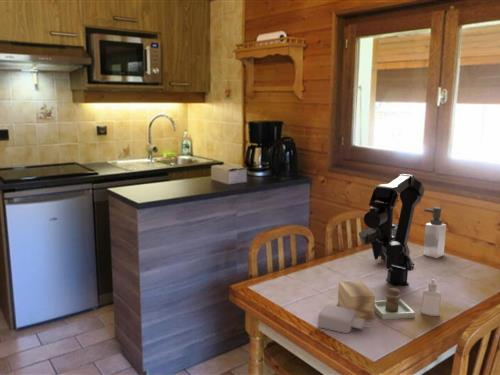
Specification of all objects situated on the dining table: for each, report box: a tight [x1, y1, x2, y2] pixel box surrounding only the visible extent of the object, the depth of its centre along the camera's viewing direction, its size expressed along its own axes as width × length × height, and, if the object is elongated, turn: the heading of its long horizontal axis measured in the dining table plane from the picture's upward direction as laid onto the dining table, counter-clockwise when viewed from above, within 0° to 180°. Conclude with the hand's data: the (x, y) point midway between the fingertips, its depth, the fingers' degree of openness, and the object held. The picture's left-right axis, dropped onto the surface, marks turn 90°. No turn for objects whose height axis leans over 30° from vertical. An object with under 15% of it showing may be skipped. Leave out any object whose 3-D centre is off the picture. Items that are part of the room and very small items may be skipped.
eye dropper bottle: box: [420, 278, 442, 317], centre depth 151 cm, size 4×6×12 cm
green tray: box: [374, 298, 416, 321], centre depth 153 cm, size 11×10×2 cm
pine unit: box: [337, 280, 376, 320], centre depth 153 cm, size 8×12×8 cm, turn 8°
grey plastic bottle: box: [317, 303, 372, 334], centre depth 143 cm, size 5×9×15 cm
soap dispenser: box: [422, 206, 447, 259], centre depth 208 cm, size 6×9×22 cm
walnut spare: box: [385, 287, 401, 313], centre depth 153 cm, size 4×4×7 cm
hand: (381, 263), depth 163 cm, fingers open, 9 cm apart
